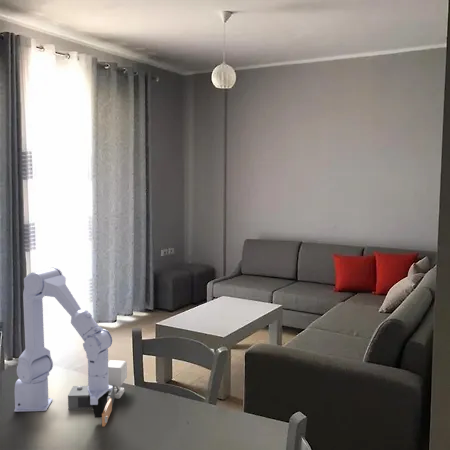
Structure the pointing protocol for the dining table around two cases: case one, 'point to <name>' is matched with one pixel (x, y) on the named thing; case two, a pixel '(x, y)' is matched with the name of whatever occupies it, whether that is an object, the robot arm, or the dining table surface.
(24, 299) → the robot arm
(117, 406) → the dining table surface
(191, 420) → the dining table surface
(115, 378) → the security camera
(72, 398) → the housing
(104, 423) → the hatch
